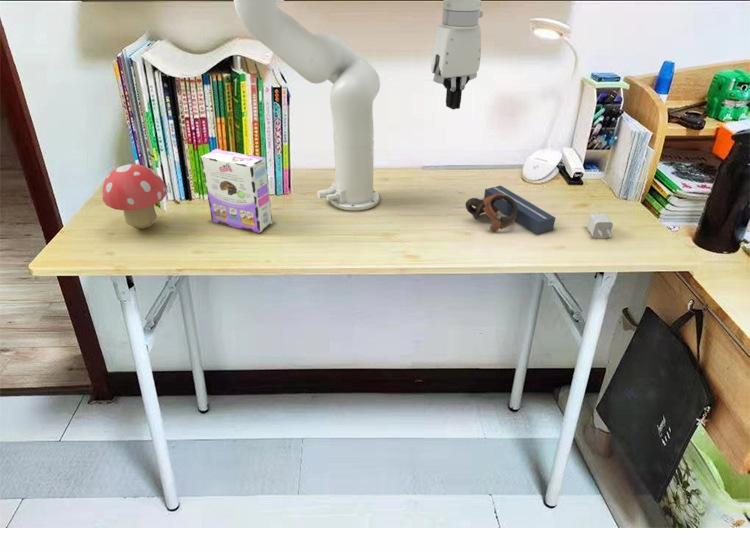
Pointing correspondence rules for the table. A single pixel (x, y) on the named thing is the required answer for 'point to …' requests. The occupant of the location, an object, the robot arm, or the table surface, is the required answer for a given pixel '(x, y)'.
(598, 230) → the usb wall charger
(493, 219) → the brown curved looped piece
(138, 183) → the decorative mushroom
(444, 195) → the table surface
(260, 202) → the candy box
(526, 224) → the pencil case
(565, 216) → the table surface
